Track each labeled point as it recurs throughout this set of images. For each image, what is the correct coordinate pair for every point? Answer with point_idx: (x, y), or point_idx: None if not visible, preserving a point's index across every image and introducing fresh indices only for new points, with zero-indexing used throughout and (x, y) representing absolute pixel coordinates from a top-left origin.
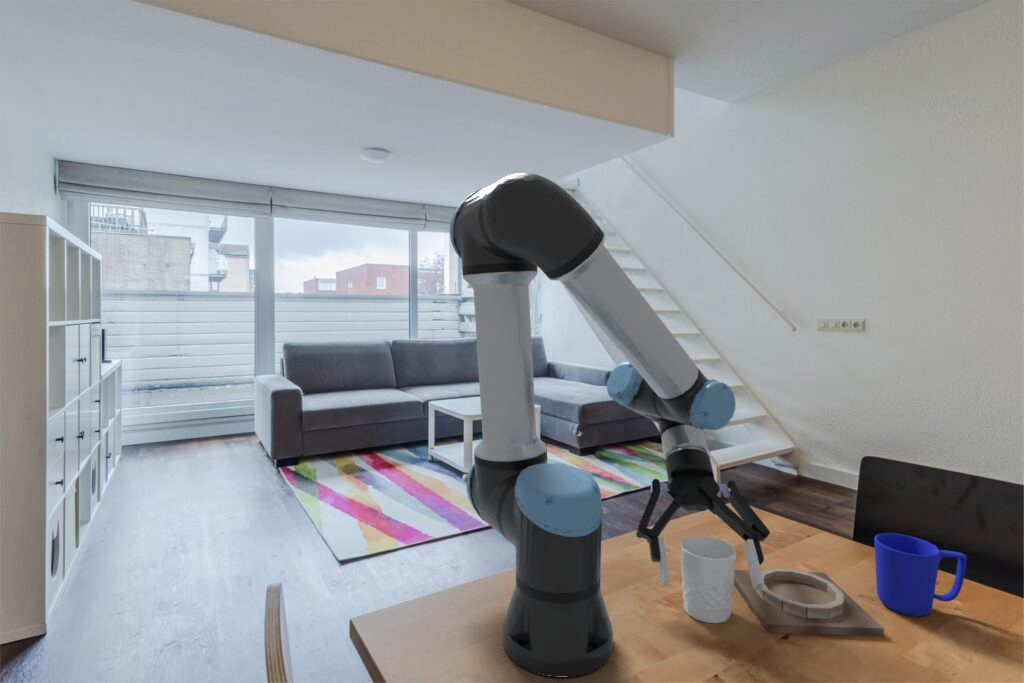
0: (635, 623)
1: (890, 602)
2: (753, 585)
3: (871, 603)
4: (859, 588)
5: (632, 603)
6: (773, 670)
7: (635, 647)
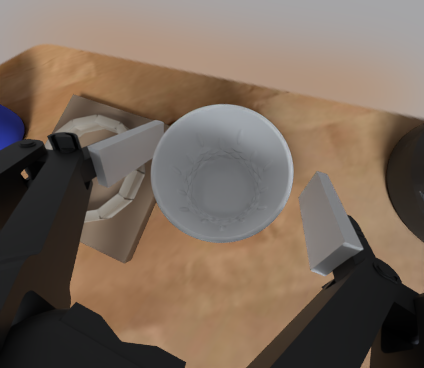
0: None
1: (16, 126)
2: None
3: None
4: None
5: None
6: (226, 84)
7: (357, 149)
